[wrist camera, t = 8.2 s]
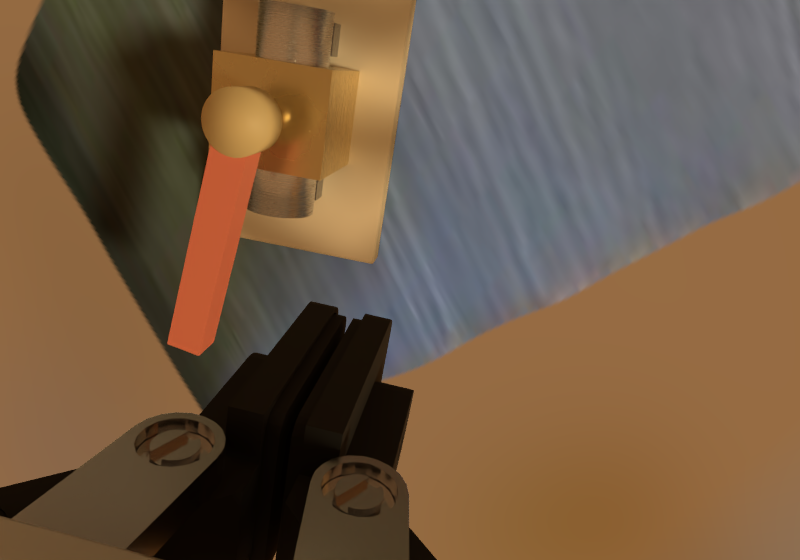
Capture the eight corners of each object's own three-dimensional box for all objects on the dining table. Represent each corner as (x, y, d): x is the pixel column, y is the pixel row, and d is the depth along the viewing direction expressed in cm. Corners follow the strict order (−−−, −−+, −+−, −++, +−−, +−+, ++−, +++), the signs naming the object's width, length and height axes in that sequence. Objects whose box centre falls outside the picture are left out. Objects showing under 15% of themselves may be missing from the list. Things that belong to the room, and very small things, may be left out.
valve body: (263, 3, 32) (196, -16, 25) (366, 20, 31) (327, 5, 24) (249, 189, 35) (188, 217, 28) (342, 207, 35) (303, 240, 28)
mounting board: (238, -61, 32) (226, -67, 31) (421, -33, 31) (417, -38, 30) (222, 225, 38) (211, 231, 36) (377, 256, 37) (372, 263, 35)
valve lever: (228, 76, 26) (208, 76, 24) (289, 99, 25) (274, 100, 24) (173, 325, 30) (154, 340, 28) (225, 345, 30) (209, 361, 28)
